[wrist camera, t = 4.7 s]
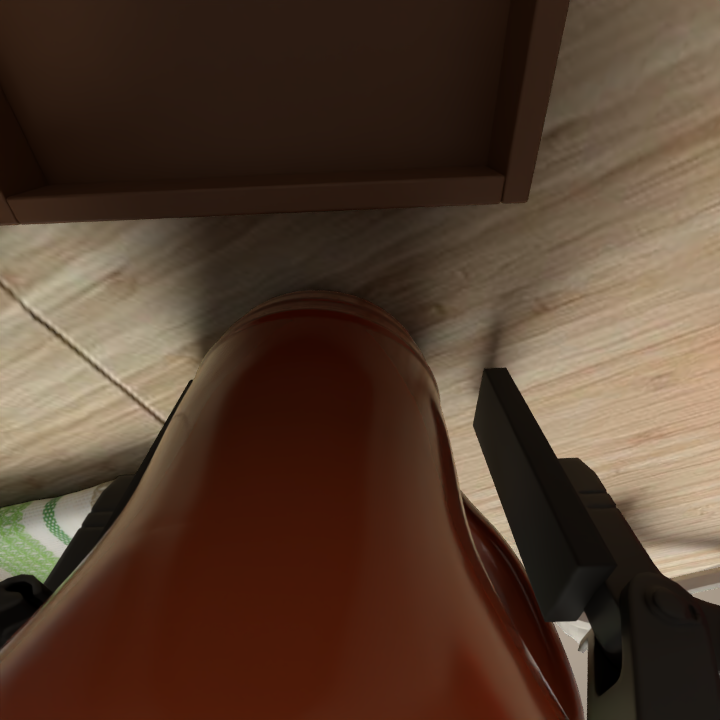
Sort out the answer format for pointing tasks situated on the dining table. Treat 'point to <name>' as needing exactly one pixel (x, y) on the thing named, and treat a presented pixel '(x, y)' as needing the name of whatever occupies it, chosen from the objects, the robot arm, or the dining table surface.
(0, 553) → the dish towel
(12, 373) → the dining table surface
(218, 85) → the walnut tray
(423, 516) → the mug
